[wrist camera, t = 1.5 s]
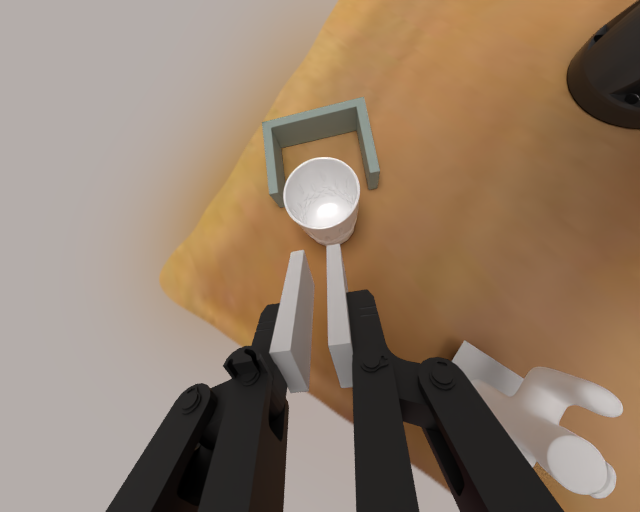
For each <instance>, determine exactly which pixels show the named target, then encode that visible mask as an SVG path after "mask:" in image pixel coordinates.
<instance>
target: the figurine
mask: <svg viewBox="0 0 640 512" xmlns="http://www.w3.org/2000/svg"><path fill="white" fill-rule="evenodd" d="M451 362H453V363H455V364H456V365H457V366H458V367H459V368H460V369H461V370H462V371H463V372H464V373H465V375H466V376H467V378H468V379H469V380H470V382H471V383H472V385H473V386H474V387H475V389H476V390H477V391H478V393H479V394H480V396H481V397H482V398H483V400H484V401H485V403H486V404H487V405H488V407H489V408H490V410H491V411H492V412H493V414H494V415H495V416H496V418H497V419H498V421H499V422H500V423H501V425H502V426H503V428H504V429H505V430H506V432H507V433H508V435H509V436H510V437H511V439H512V440H513V441H514V443H515V444H516V446H517V447H518V448H519V450H520V451H521V453H522V454H523V455H524V457H525V458H526V460H527V461H528V462H529V464H530V465H531V466H532V468H533V467H534V465H535V463H536V461H537V462H538V463H539V465H540V466H541V467H542V468H543V469H544V470H545V471H547V472H548V473H549V474H550V475H551V476H552V477H553V478H554V479H555V480H556V481H558V482H559V483H560V484H561V485H562V486H563V487H565V488H566V489H568V490H570V491H572V492H574V493H578V494H583V495H590V496H592V497H593V498H597V499H600V498H605V497H606V496H608V495H609V494H610V493H611V492H612V491H613V490H614V487H615V483H616V474H615V471H614V469H613V467H612V466H611V465H610V464H609V463H607V462H606V461H605V460H604V458H603V457H602V455H601V453H600V452H599V451H598V449H597V448H596V447H595V446H594V445H592V444H591V443H590V442H588V441H587V440H585V439H583V438H582V437H580V436H578V435H577V434H575V433H573V432H571V431H570V430H568V429H566V428H564V427H562V426H559V421H560V419H561V417H562V415H563V413H564V412H565V410H566V408H567V407H568V406H571V405H578V406H581V407H583V408H586V409H588V410H590V411H592V412H594V413H597V414H599V415H602V416H606V417H618V416H620V415H621V414H622V412H623V406H622V404H621V402H620V400H619V399H618V398H617V397H616V396H615V395H614V394H613V393H611V392H610V391H608V390H607V389H605V388H604V387H602V386H600V385H598V384H595V383H593V382H590V381H588V380H585V379H582V378H579V377H576V376H573V375H570V374H567V373H564V372H561V371H558V370H555V369H551V368H547V367H534V368H532V369H531V370H530V371H529V372H528V373H527V375H526V377H525V378H522V377H520V376H519V375H517V374H516V373H514V372H513V371H511V370H510V369H508V368H507V367H505V366H503V365H502V364H500V363H499V362H497V361H496V360H494V359H493V358H491V357H490V356H488V355H487V354H485V353H483V352H482V351H480V350H479V349H477V348H476V347H474V346H473V345H471V344H470V343H468V342H466V341H465V340H464V342H463V343H462V345H461V347H460V348H459V350H458V352H457V353H456V355H455V357H454V358H453V360H452V361H451Z"/></svg>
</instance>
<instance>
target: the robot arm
mask: <svg viewBox="0 0 640 512" xmlns="http://www.w3.org/2000/svg"><path fill="white" fill-rule="evenodd" d="M568 85H569V89H570V91H571V93H572V95H573V97H574V98H575V100H576V101H577V102H578V104H579V105H580V106H581V107H582V108H583V109H585V110H586V111H587V112H589V113H590V114H591V115H593V116H595V117H597V118H598V119H601V120H603V121H605V122H608V123H611V124H614V125H618V126H622V127H629V128H640V0H637V1H636V2H635V3H633V4H632V5H631V6H629V7H628V8H627V9H625V10H624V11H623V12H621V13H620V14H619V15H618V16H616V17H615V18H614V19H612V20H611V21H610V22H608V23H607V24H606V25H604V26H603V27H602V28H600V29H599V30H598V31H597V32H596V33H595V34H594V35H593V36H592V37H591V38H590V39H589V40H588V41H587V42H586V43H585V44H584V46H583V47H582V48H581V49H580V50H579V51H578V53H577V54H576V55H575V56H574V58H573V59H572V61H571V63H570V66H569V69H568ZM313 304H314V282H313V279H312V275H311V272H310V269H309V265H308V262H307V258H306V255H305V252H304V250H300V251H295V252H291V256H290V261H289V265H288V270H287V274H286V279H285V283H284V288H283V292H282V297H281V301H280V303H278V304H271V305H267V306H266V308H265V309H264V310H263V312H262V313H261V316H260V319H259V322H258V323H259V324H258V326H257V329H256V332H255V336H254V339H253V342H252V346H244V347H242V348H239V349H237V350H236V351H234V352H233V353H232V354H231V355H230V356H229V357H228V358H227V359H226V361H225V363H224V365H223V367H224V368H225V369H226V370H227V372H228V373H229V374H230V376H231V377H232V379H230V380H229V381H226V382H224V383H222V384H220V385H217V386H215V387H213V388H209V386H208V385H206V384H203V383H201V384H195V385H193V386H191V387H189V388H188V389H187V390H185V391H184V392H183V393H182V394H181V395H180V396H179V398H178V399H177V400H176V401H175V403H174V405H173V406H172V408H171V409H170V411H169V413H168V414H167V416H166V417H165V419H164V420H163V422H162V423H161V425H160V427H159V428H158V430H157V431H156V433H155V435H154V436H153V438H152V439H151V441H150V442H149V444H148V446H147V447H146V449H145V450H144V452H143V454H142V455H141V457H140V458H139V460H138V461H137V463H136V464H135V466H134V468H133V469H132V471H131V472H130V474H129V475H128V477H127V479H126V480H125V482H124V483H123V485H122V486H121V488H120V490H119V491H118V493H117V494H116V496H115V498H114V499H113V501H112V502H111V504H110V505H109V507H108V509H107V510H106V512H283V505H284V487H285V469H286V467H285V466H286V450H287V431H288V414H289V413H288V412H289V406H288V401H287V400H286V392H287V387H288V389H289V391H290V392H291V393H296V392H307V391H309V379H310V360H311V342H312V323H313ZM327 304H328V347H329V350H330V353H331V356H332V360H333V363H334V366H335V369H336V373H337V376H338V379H339V382H340V386H341V388H348V387H353V416H354V447H355V480H356V511H357V512H419V507H418V502H417V497H416V491H415V485H414V480H413V474H412V469H411V464H410V458H409V453H408V447H407V442H406V436H405V431H404V425H403V422H407V423H410V424H414V425H417V426H420V427H422V429H423V432H424V434H425V436H426V438H427V440H428V443H429V445H430V447H431V449H432V451H433V453H434V456H435V458H436V460H437V462H438V464H439V467H440V469H441V471H442V473H443V475H444V477H445V480H446V482H447V484H448V486H449V488H450V490H451V493H452V495H453V497H454V499H455V501H456V504H457V506H458V508H459V510H460V512H564V511H563V510H562V508H561V507H560V505H559V504H558V503H557V501H556V500H555V498H554V497H553V496H552V494H551V493H550V491H549V490H548V489H547V487H546V486H545V485H544V483H543V482H542V480H541V479H540V478H539V476H538V475H537V473H536V472H535V471H534V469H533V468H532V466H531V465H530V464H529V462H528V461H527V460H526V458H525V457H524V455H523V454H522V453H521V451H520V450H519V448H518V447H517V446H516V444H515V443H514V441H513V440H512V439H511V437H510V436H509V435H508V433H507V432H506V430H505V429H504V428H503V426H502V425H501V423H500V422H499V421H498V419H497V418H496V416H495V415H494V414H493V412H492V411H491V410H490V408H489V407H488V405H487V404H486V403H485V401H484V400H483V398H482V397H481V396H480V394H479V393H478V391H477V390H476V389H475V387H474V386H473V385H472V383H471V382H470V380H469V379H468V378H467V376H466V375H465V373H464V372H463V371H462V370H461V369H460V368H459V367H458V366H457V365H456V364H455V363H453V362H451V361H449V360H448V359H444V358H439V357H435V358H429V359H427V360H425V361H423V362H422V364H420V363H415V362H410V361H406V360H403V359H400V358H398V357H396V356H395V355H394V354H393V353H391V352H390V350H389V349H388V348H387V345H386V343H385V339H384V335H383V331H382V327H381V323H380V319H379V315H378V311H377V308H376V304H375V300H374V296H373V295H372V294H371V293H370V292H369V291H368V290H361V291H354V292H348V285H347V279H346V273H345V268H344V263H343V258H342V253H341V248H340V244H335V245H329V246H327Z"/></svg>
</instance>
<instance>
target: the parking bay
mask: <svg viewBox="0 0 640 512" xmlns="http://www.w3.org/2000/svg"><path fill="white" fill-rule="evenodd" d="M262 126H263V136H264V146H265V156H266V166H267V176H268V186H269V195H270V196H271V197H272V198H273V199H274V201H275V202H276V203H277V204H278V206H279V207H280V208H281V207H285V205H284V200H283V192H284V187H285V176H284V168H283V159H282V151H281V148H284V147H288V146H292V145H297V144H301V143H305V142H309V141H314V140H318V139H322V138H326V137H331V136H335V135H339V134H343V133H347V132H352V131H356V130H357V134H358V139H359V144H360V149H361V154H362V159H363V164H364V169H365V174H366V179H367V184H368V189H369V190H370V189H375V188H377V186H378V180H379V173H380V169H379V164H378V160H377V155H376V151H375V146H374V141H373V137H372V132H371V128H370V123H369V118H368V114H367V109H366V105H365V100H364V97H361V98H357V99H353V100H349V101H345V102H341V103H337V104H333V105H329V106H325V107H321V108H317V109H313V110H309V111H305V112H301V113H297V114H293V115H290V116H286V117H282V118H278V119H274V120H270V121H266V122H262Z"/></svg>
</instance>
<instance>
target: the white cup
mask: <svg viewBox="0 0 640 512" xmlns="http://www.w3.org/2000/svg"><path fill="white" fill-rule="evenodd" d="M359 196H360V185H359V181H358V178H357V176H356V174H355V172H354V171H353V170H352V169H351V167H350V166H348V165H347V164H346V163H344V162H343V161H341V160H338V159H335V158H330V157H319V158H314V159H311V160H308V161H306V162H304V163H302V164H301V165H299V166H298V167H297V168H296V169H295V170H294V171H293V172H292V173H291V174H290V176H289V177H288V179H287V181H286V184H285V187H284V192H283V200H284V205H285V208H286V210H287V212H288V214H289V215H290V216H291V218H292V219H293V220H294V221H295V222H296V223H297V224H298V225H299V226H300V227H301V228H302V229H303V230H304V231H305V232H306V233H307V234H308V235H309V236H310V237H311V238H313V239H314V240H315V241H316V242H317V243H319V244H322V245H325V246H329V245H335V244H342V243H344V242H345V241H347V240H348V239H349V237H350V236H351V235H352V233H353V232H354V227H355V223H356V220H357V214H358V205H359Z"/></svg>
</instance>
